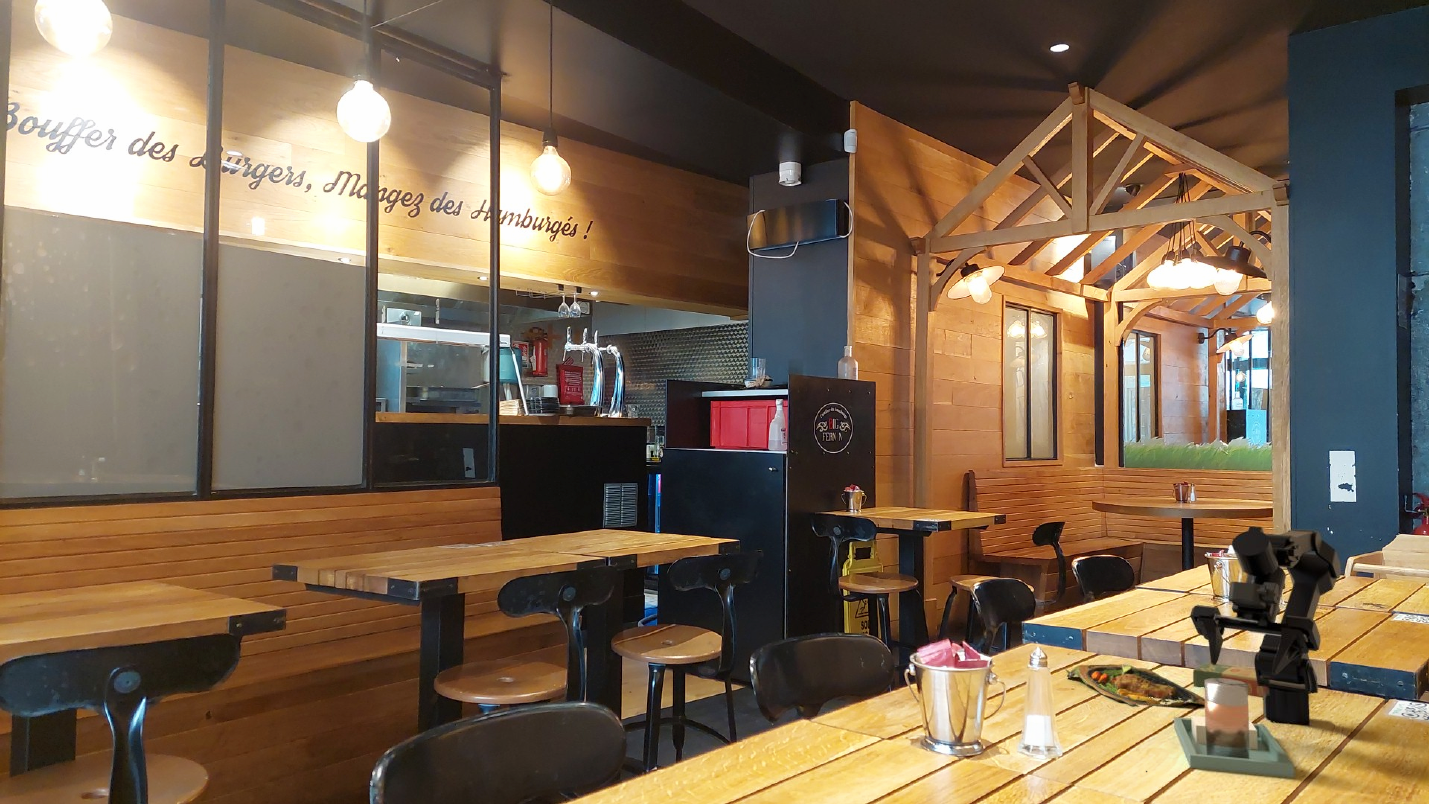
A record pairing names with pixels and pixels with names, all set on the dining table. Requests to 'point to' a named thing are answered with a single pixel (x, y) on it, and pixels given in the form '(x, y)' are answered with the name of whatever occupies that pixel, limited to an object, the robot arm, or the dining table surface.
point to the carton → (1228, 676)
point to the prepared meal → (1134, 685)
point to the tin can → (1226, 718)
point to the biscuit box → (1200, 732)
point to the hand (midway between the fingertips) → (1242, 668)
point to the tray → (1260, 761)
